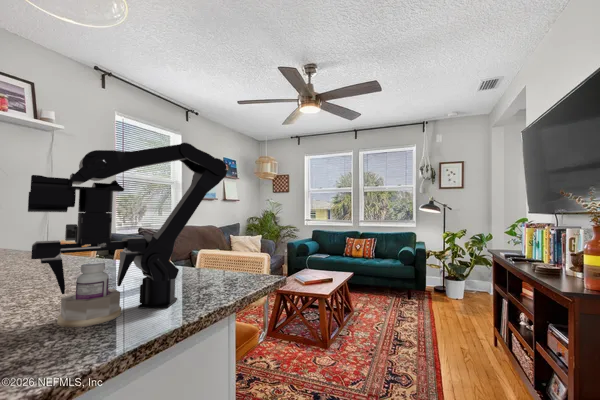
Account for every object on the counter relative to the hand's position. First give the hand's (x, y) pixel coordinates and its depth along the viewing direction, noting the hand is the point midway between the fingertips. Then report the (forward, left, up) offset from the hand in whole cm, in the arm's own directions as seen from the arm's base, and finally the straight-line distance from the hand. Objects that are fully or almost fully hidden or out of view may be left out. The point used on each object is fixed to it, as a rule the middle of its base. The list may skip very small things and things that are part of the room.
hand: (92, 289), depth 58 cm
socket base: (0, 0, -6) cm, 6 cm away
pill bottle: (0, 0, -5) cm, 5 cm away
